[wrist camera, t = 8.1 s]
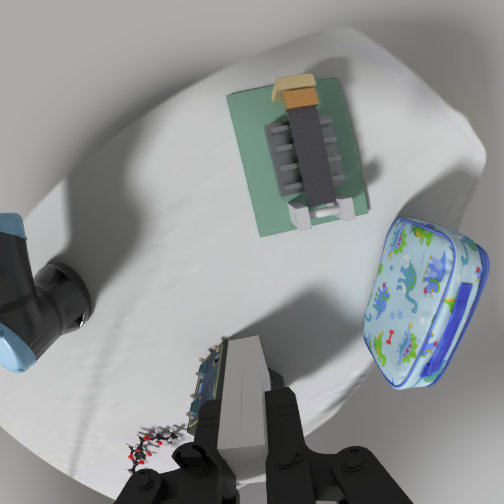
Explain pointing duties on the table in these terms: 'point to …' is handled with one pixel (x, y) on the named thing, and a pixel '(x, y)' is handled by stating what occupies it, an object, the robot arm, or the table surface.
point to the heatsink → (287, 158)
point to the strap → (309, 145)
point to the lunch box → (422, 300)
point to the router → (216, 382)
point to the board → (260, 165)
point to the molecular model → (141, 453)
